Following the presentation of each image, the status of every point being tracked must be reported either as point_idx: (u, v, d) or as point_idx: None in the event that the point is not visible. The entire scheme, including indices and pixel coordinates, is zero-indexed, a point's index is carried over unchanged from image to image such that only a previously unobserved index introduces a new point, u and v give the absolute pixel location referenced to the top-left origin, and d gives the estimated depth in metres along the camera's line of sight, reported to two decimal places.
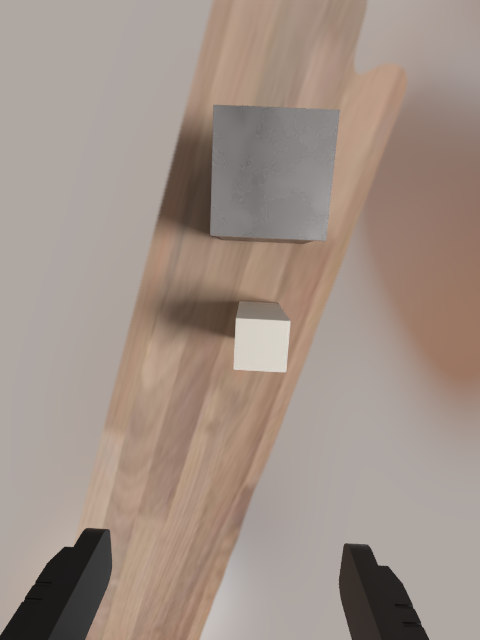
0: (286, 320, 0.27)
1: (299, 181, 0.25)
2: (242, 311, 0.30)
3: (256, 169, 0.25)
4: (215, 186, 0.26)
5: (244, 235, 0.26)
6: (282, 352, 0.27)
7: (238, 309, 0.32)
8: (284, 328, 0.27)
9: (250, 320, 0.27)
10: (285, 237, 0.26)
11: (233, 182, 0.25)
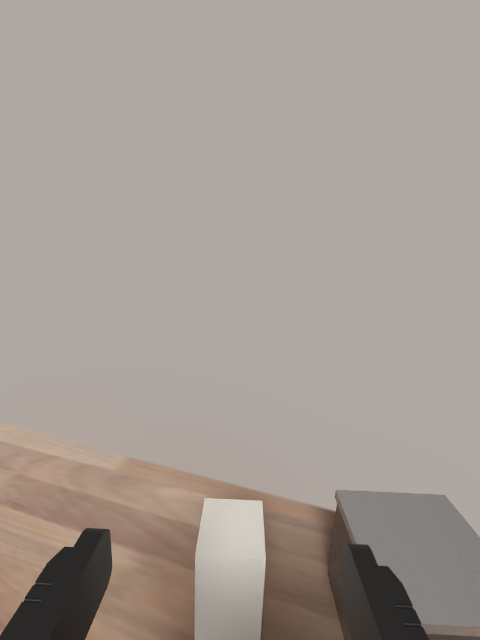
0: None
1: (436, 577, 0.21)
2: None
3: (417, 529, 0.24)
4: (380, 494, 0.28)
5: (348, 518, 0.25)
6: (222, 550, 0.21)
7: None
8: (255, 551, 0.21)
9: (261, 514, 0.24)
10: None
11: (392, 509, 0.26)
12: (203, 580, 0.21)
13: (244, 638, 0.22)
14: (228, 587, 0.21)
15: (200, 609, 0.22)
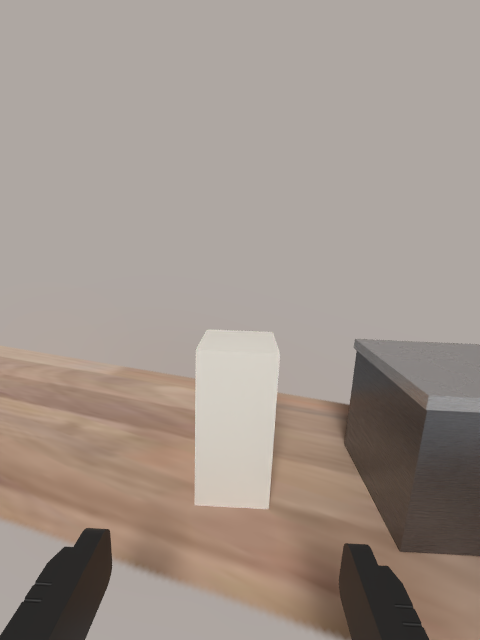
0: None
1: None
2: None
3: (452, 357, 0.21)
4: (405, 342, 0.25)
5: (371, 350, 0.22)
6: (228, 348, 0.18)
7: None
8: (267, 350, 0.18)
9: (272, 337, 0.21)
10: (395, 368, 0.18)
11: (421, 348, 0.23)
12: (206, 385, 0.18)
13: (253, 464, 0.19)
14: (234, 393, 0.18)
15: (202, 425, 0.19)
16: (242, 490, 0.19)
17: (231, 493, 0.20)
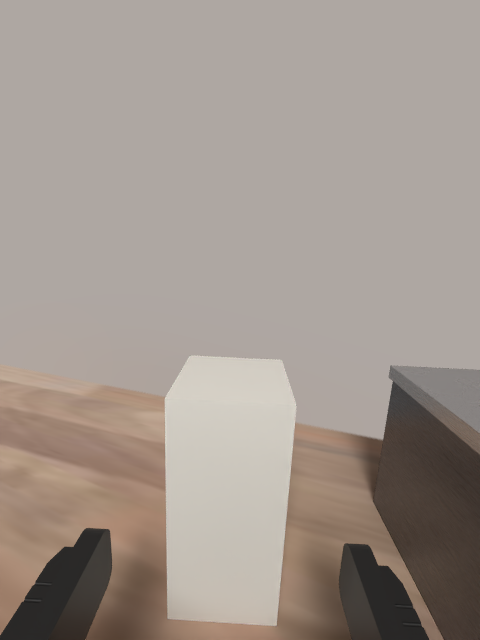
0: None
1: None
2: None
3: None
4: (459, 370, 0.18)
5: (420, 386, 0.16)
6: (216, 395, 0.12)
7: None
8: (275, 398, 0.12)
9: (282, 369, 0.15)
10: (471, 424, 0.12)
11: None
12: (181, 451, 0.12)
13: (254, 564, 0.13)
14: (225, 464, 0.12)
15: (176, 509, 0.12)
16: (237, 600, 0.13)
17: (221, 604, 0.13)
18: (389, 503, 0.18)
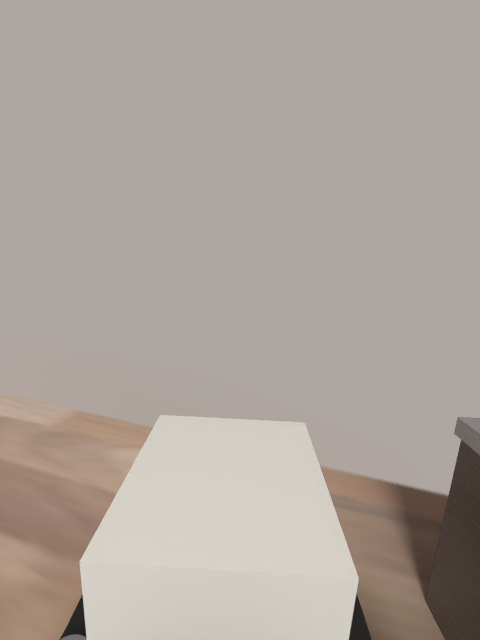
0: None
1: None
2: None
3: None
4: None
5: None
6: (191, 543, 0.06)
7: None
8: (311, 549, 0.06)
9: (309, 447, 0.09)
10: None
11: None
12: None
13: None
14: None
15: None
16: None
17: None
18: (458, 620, 0.13)
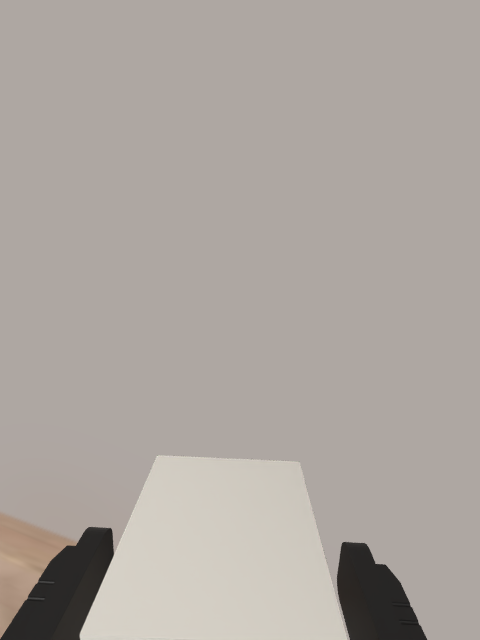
0: None
1: None
2: None
3: None
4: None
5: None
6: (187, 609, 0.06)
7: None
8: (304, 613, 0.06)
9: (303, 492, 0.09)
10: None
11: None
12: None
13: None
14: None
15: None
16: None
17: None
18: None
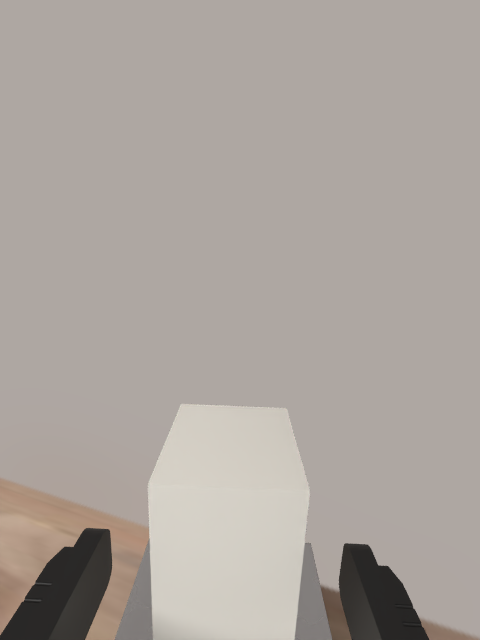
0: None
1: None
2: None
3: None
4: None
5: (134, 587, 0.16)
6: (211, 475, 0.09)
7: None
8: (284, 478, 0.09)
9: (288, 424, 0.13)
10: None
11: None
12: (169, 544, 0.10)
13: None
14: (223, 558, 0.10)
15: (165, 608, 0.10)
16: None
17: None
18: None
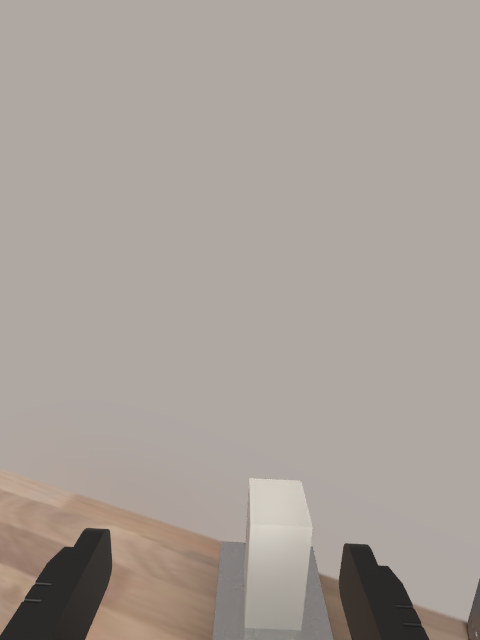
0: None
1: None
2: None
3: None
4: None
5: (219, 569, 0.30)
6: (273, 520, 0.24)
7: None
8: (302, 521, 0.24)
9: (302, 491, 0.27)
10: (216, 611, 0.27)
11: None
12: (257, 547, 0.24)
13: (290, 599, 0.25)
14: (278, 553, 0.24)
15: (253, 574, 0.25)
16: (281, 617, 0.26)
17: (273, 619, 0.26)
18: None
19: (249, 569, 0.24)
